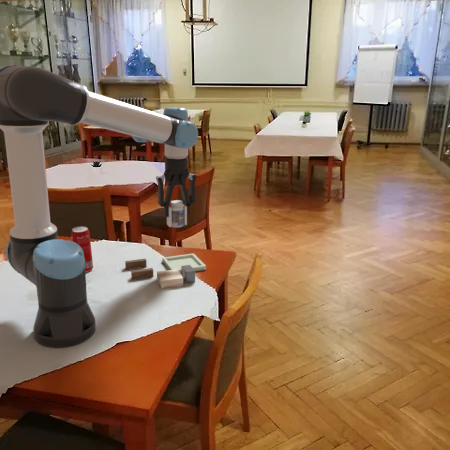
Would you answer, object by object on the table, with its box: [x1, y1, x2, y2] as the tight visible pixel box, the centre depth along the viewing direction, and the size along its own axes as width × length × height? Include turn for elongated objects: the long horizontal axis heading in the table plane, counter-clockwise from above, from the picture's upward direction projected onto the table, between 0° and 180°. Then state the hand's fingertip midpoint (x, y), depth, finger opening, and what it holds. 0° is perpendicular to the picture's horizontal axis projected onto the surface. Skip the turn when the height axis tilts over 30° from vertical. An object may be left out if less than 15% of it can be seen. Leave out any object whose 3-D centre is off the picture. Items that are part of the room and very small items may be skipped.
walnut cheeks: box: [124, 258, 154, 281], centre depth 153 cm, size 10×7×2 cm
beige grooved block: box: [156, 269, 184, 289], centre depth 147 cm, size 7×7×3 cm
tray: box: [161, 253, 207, 274], centre depth 160 cm, size 12×12×2 cm
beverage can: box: [70, 225, 94, 273], centre depth 151 cm, size 6×6×15 cm
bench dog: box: [181, 265, 196, 284], centre depth 149 cm, size 5×3×4 cm, turn 25°
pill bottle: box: [170, 199, 185, 228], centre depth 153 cm, size 5×5×8 cm
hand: (176, 224), depth 154 cm, fingers closed on pill bottle, 5 cm apart
